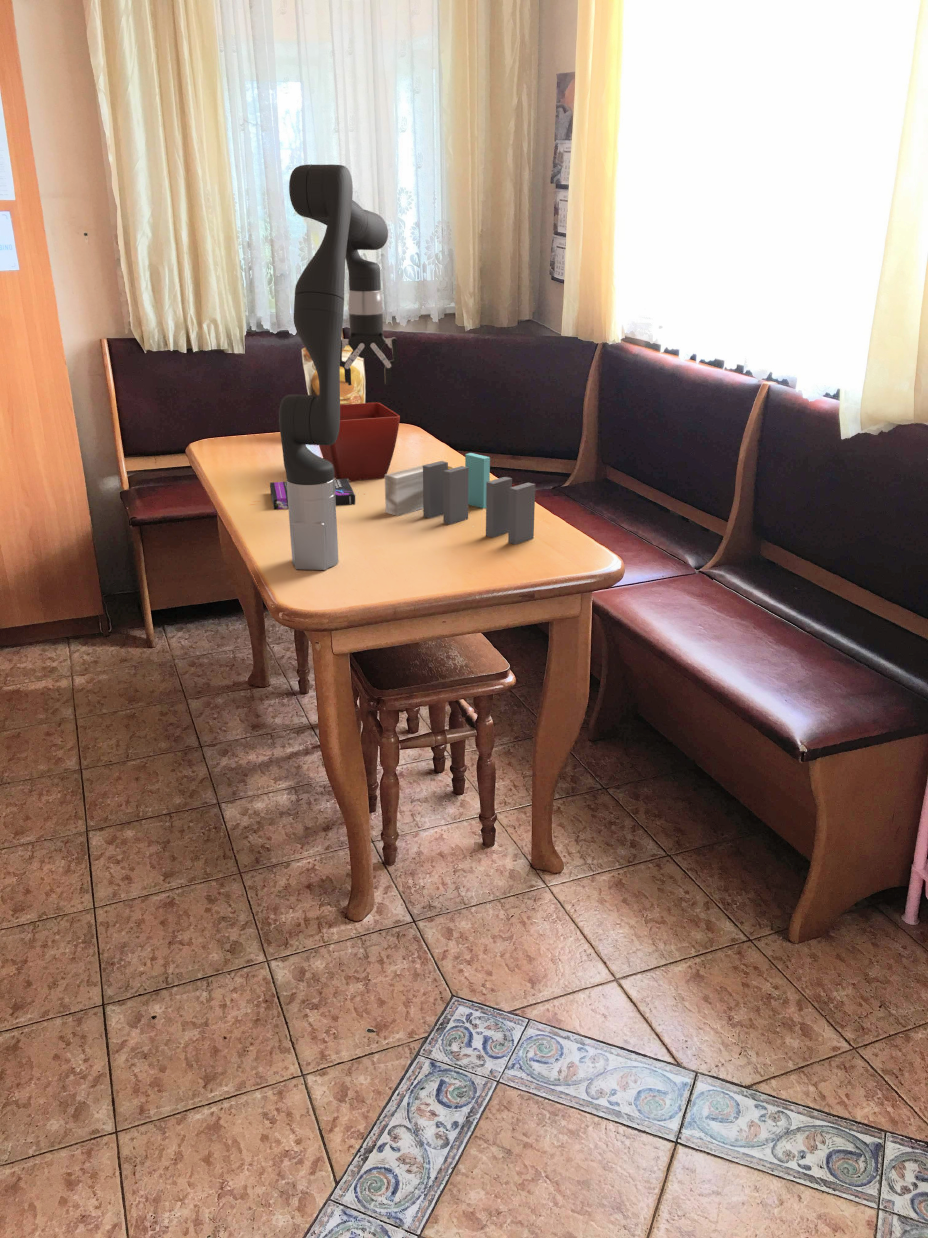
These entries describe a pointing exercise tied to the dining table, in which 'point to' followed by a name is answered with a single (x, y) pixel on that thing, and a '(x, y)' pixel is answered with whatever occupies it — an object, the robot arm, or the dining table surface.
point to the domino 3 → (477, 478)
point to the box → (342, 493)
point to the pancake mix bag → (347, 392)
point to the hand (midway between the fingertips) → (368, 384)
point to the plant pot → (363, 442)
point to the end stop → (404, 491)
